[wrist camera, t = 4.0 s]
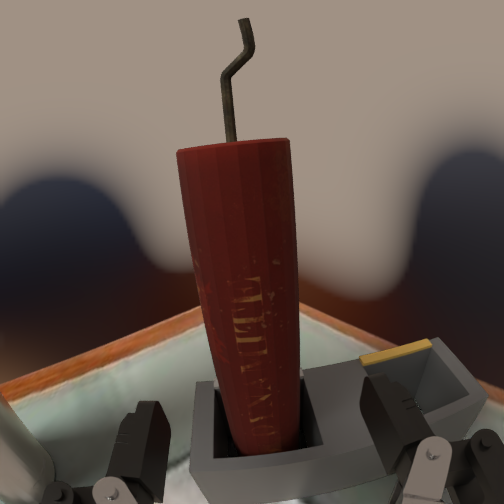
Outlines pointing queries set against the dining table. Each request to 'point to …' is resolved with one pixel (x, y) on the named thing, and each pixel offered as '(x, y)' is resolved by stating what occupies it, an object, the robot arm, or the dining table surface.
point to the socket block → (331, 426)
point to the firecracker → (247, 274)
